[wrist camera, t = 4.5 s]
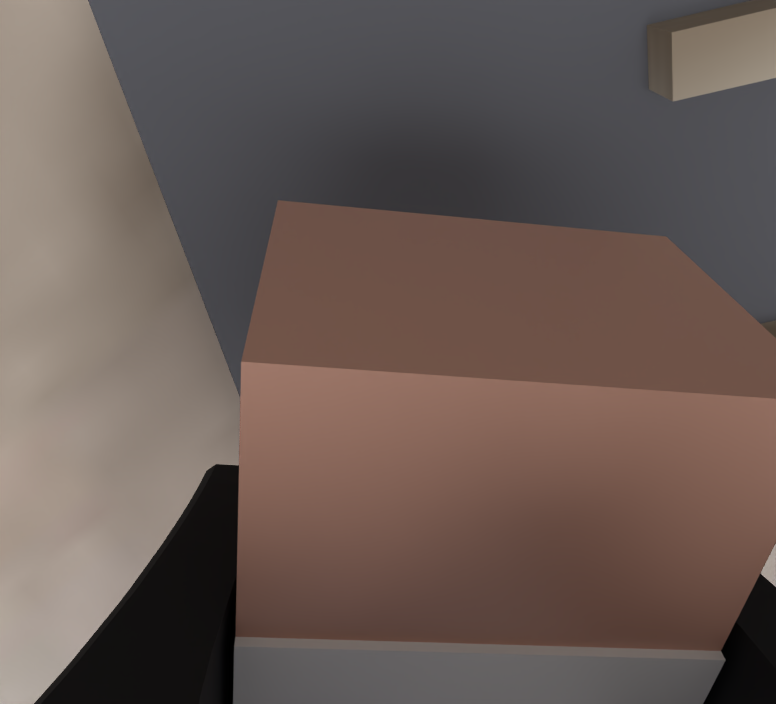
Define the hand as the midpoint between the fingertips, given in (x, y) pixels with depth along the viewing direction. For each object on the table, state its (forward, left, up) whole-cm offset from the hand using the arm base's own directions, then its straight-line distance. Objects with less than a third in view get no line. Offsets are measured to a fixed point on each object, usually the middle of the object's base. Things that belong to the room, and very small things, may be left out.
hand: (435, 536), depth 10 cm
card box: (0, 0, -1) cm, 1 cm away
